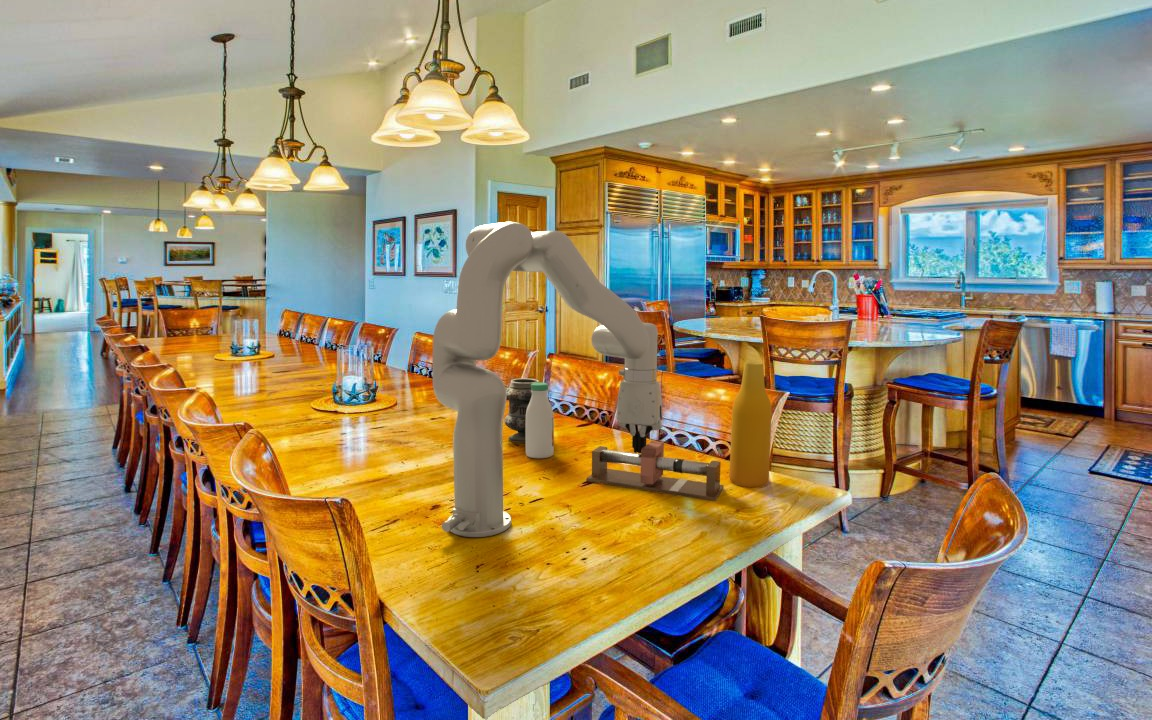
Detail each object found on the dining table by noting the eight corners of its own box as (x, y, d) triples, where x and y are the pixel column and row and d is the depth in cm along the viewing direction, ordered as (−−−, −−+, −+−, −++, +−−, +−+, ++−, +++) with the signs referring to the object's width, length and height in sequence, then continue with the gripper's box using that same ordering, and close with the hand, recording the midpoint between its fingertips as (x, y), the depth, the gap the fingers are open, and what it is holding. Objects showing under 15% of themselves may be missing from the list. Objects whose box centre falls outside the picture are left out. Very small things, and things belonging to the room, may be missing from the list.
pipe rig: (715, 501, 139) (716, 470, 138) (586, 481, 152) (586, 452, 151) (723, 488, 147) (724, 459, 146) (600, 470, 160) (601, 443, 159)
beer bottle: (741, 489, 146) (746, 366, 142) (722, 477, 155) (726, 360, 151) (776, 486, 149) (782, 365, 145) (755, 474, 157) (760, 359, 153)
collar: (652, 484, 145) (653, 450, 144) (640, 482, 146) (641, 449, 145) (663, 474, 152) (663, 442, 151) (651, 472, 153) (651, 440, 152)
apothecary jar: (552, 437, 192) (552, 379, 189) (529, 446, 182) (528, 385, 179) (520, 432, 198) (520, 375, 196) (496, 440, 188) (495, 381, 185)
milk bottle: (549, 460, 169) (549, 386, 166) (522, 458, 170) (521, 385, 167) (556, 452, 176) (556, 381, 173) (529, 450, 178) (529, 380, 175)
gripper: (604, 375, 147) (604, 451, 149) (666, 380, 141) (664, 459, 143) (616, 371, 154) (615, 444, 156) (675, 375, 148) (674, 451, 150)
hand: (639, 451), depth 150 cm, fingers closed
